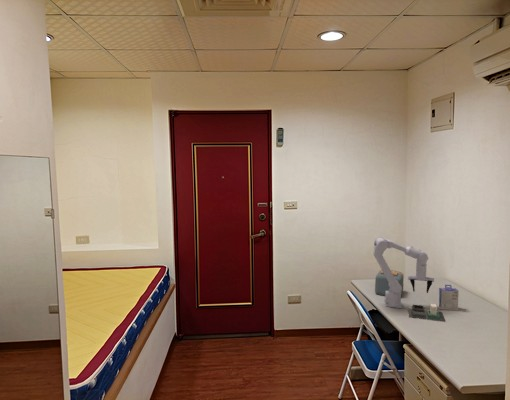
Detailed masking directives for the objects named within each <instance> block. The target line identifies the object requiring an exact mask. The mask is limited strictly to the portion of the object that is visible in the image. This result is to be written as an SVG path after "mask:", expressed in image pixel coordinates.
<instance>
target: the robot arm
mask: <svg viewBox="0 0 510 400" xmlns="http://www.w3.org/2000/svg"><path fill="white" fill-rule="evenodd" d="M387 249H395V250H399V251H401V252H404V255H406V256H407V257H410V258H412V259H416V262H415V263H416V265H415V269H416V270H415V275H408V276H407V279H408V281H409V283H410V284H411V286H412V287H411V288H412V292H414V293H415V291H416V290H415V281H422V282H426V293H427V294H429V291H430V288H431V286H432V285H433V283H434V282H435V278H434V277H428V276H427V263H428V262H427V261H428V260H429V257H428V254H427V253H426V252H424V251H423V250H421V249H417V248H415V247H414V246H412V245H407V246H406V245H405V246H404V245H402V244H400V243H398V242H395V241H393V240H391V239H389V238H384V237H381V236H379V237H377V238H375V241H374V242H373V257H374V258H375V260H376V262H377V264H378V265H379V266H380V270H382V271H383V273H384V274H385V276H386V278H387V280H388V285H389V287H390V289H389V291H386V293H385V299H384V305H385V307H389V308H399V309H402V299H401V298H402V293H401V291H402V286H401V285H400V284H399V283H398V281H397V280H396V279H395V277H394V276H393V274H392V272H391V269H390V267H389V265H388V263H387V262H386V259H385V257H384V256H383V255H384V252H385V251H386V250H387Z"/></svg>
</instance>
